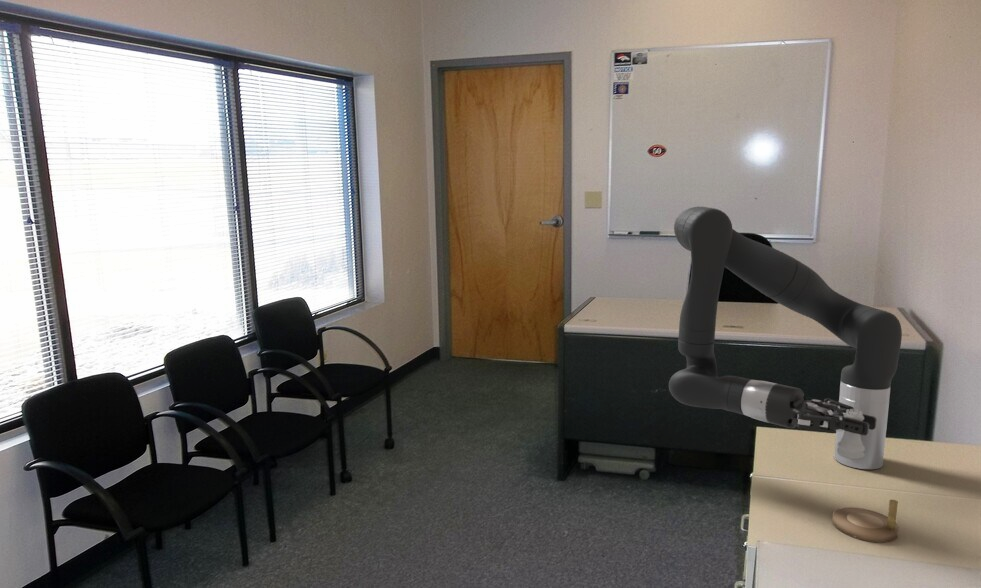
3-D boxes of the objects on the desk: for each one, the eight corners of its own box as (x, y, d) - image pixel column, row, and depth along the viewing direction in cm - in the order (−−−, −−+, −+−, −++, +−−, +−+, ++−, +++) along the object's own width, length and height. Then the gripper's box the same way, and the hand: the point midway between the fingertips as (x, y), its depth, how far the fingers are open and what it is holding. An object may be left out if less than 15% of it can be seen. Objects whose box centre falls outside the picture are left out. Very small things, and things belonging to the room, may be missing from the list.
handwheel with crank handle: (843, 508, 127) (846, 476, 126) (905, 527, 120) (908, 493, 119) (823, 527, 120) (826, 493, 118) (888, 548, 113) (891, 513, 112)
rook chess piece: (861, 451, 123) (865, 408, 121) (867, 461, 118) (871, 416, 117) (833, 448, 124) (837, 406, 123) (838, 458, 120) (842, 414, 118)
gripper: (757, 391, 125) (860, 415, 113) (789, 376, 134) (887, 396, 122) (754, 431, 126) (855, 458, 114) (786, 413, 136) (882, 436, 124)
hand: (871, 426), depth 118 cm, fingers closed on rook chess piece, 3 cm apart
